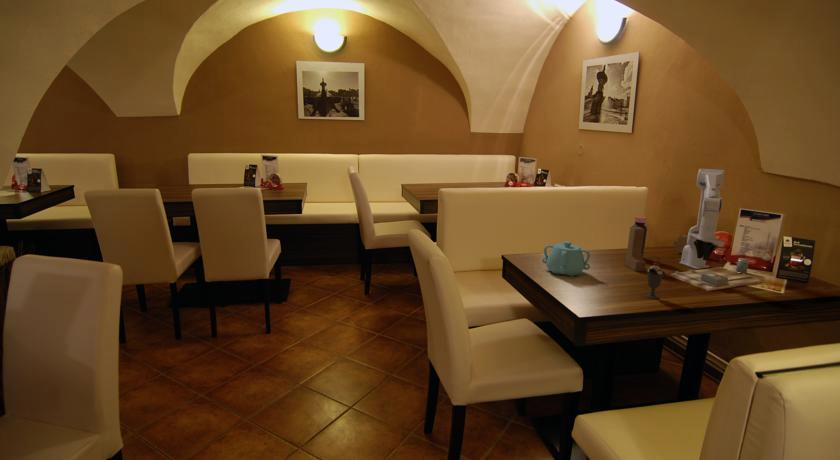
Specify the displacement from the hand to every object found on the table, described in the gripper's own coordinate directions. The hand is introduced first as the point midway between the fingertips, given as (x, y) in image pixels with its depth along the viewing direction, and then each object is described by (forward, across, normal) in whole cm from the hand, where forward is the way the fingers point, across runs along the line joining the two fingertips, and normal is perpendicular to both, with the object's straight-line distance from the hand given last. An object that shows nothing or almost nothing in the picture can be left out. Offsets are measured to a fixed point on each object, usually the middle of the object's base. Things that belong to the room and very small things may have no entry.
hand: (702, 259), depth 199 cm
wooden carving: (+10, -29, +28) cm, 41 cm away
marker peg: (+9, -2, +28) cm, 30 cm away
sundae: (+10, +8, -34) cm, 36 cm away
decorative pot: (+10, -26, -48) cm, 55 cm away
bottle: (+10, -33, -2) cm, 34 cm away
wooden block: (+10, -21, -14) cm, 27 cm away
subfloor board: (+9, +1, +8) cm, 12 cm away
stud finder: (+8, +7, 0) cm, 10 cm away
